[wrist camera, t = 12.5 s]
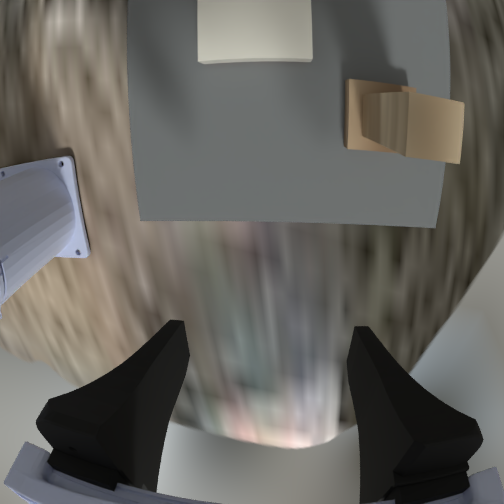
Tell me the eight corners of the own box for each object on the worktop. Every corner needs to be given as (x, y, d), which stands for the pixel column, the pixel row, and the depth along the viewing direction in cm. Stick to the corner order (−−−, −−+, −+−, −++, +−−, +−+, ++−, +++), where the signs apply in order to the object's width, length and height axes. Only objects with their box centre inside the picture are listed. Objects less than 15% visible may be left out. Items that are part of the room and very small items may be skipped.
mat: (143, 218, 22) (140, 220, 21) (133, -31, 14) (130, -33, 13) (432, 225, 20) (435, 228, 19) (438, -25, 12) (441, -27, 11)
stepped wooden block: (343, 146, 18) (383, 176, 11) (345, 80, 16) (387, 66, 9) (405, 151, 18) (472, 186, 10) (408, 88, 16) (480, 87, 9)
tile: (198, 61, 15) (197, -32, 12) (205, 64, 16) (204, -22, 14) (312, 59, 14) (308, -36, 12) (310, 62, 16) (306, -26, 13)
